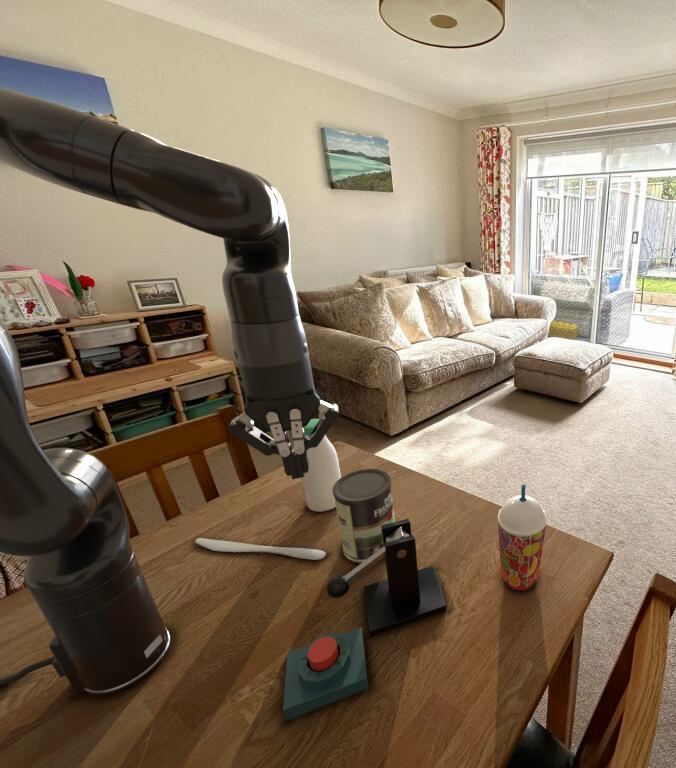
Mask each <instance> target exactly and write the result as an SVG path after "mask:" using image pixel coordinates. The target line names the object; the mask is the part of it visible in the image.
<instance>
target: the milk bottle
mask: <svg viewBox="0 0 676 768" xmlns="http://www.w3.org/2000/svg"><path fill="white" fill-rule="evenodd" d="M319 420H320V418H312V419H311V420H310V422H309V423H308V425H307V426H305V427H304V433H305V437H306V436H308V435H309V434H310V433H311V431H312V430H313V428H314V427H315V425H316V424H317V422H318V421H319ZM337 453H338V452H337V451H336V448H335V447H334V444H332V442H331V441H330V440H329V439H328V437H327V434H326V435H325V436H324V438H323V439H322V441H321V442H320V443H319V445H318V446H317V447H315V448H310V449H308V450H307V456H308V461H309V470H308V472H307V473H305V475H304V477H302V478H301V483H302V488H303V493H304V497H305V502H306V507H307V508H308V509H309V510H311V511H313V512H327V511H330V510H333V509H336V504H335V497H334V495H333V486H334V484H335V483H336V482H337V481H338V480H339V479H340V478H341V477H342V474H341V470H340V462H339V458H338V454H337Z"/></svg>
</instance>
